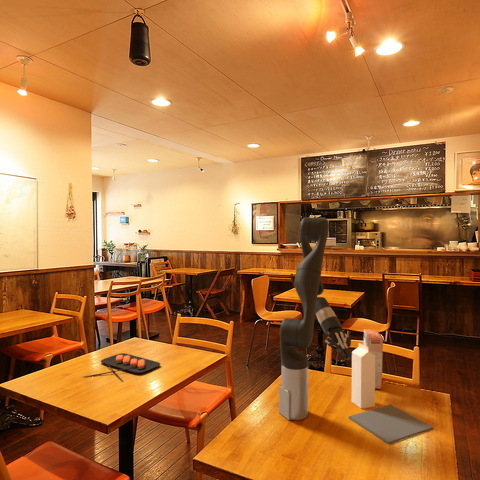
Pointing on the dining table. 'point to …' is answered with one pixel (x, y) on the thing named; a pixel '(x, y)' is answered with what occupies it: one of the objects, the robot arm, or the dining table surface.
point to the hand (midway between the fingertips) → (348, 358)
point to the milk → (363, 377)
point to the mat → (390, 423)
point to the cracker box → (375, 353)
